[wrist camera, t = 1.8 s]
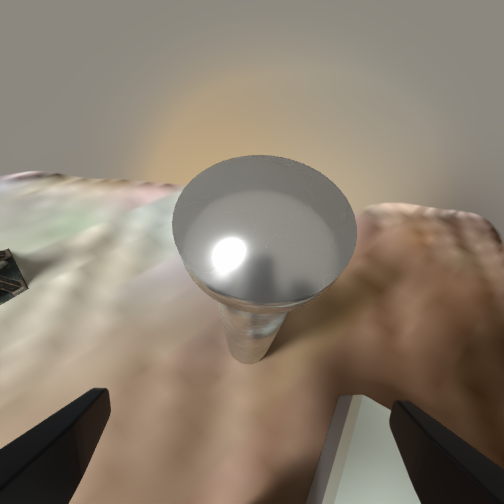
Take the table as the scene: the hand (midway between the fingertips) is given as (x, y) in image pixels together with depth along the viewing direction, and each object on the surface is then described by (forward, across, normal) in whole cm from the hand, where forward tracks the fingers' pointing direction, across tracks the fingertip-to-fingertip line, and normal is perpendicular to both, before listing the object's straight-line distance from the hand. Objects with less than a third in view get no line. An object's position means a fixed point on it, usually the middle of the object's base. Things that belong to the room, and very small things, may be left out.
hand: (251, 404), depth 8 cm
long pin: (+11, 0, +5) cm, 12 cm away
